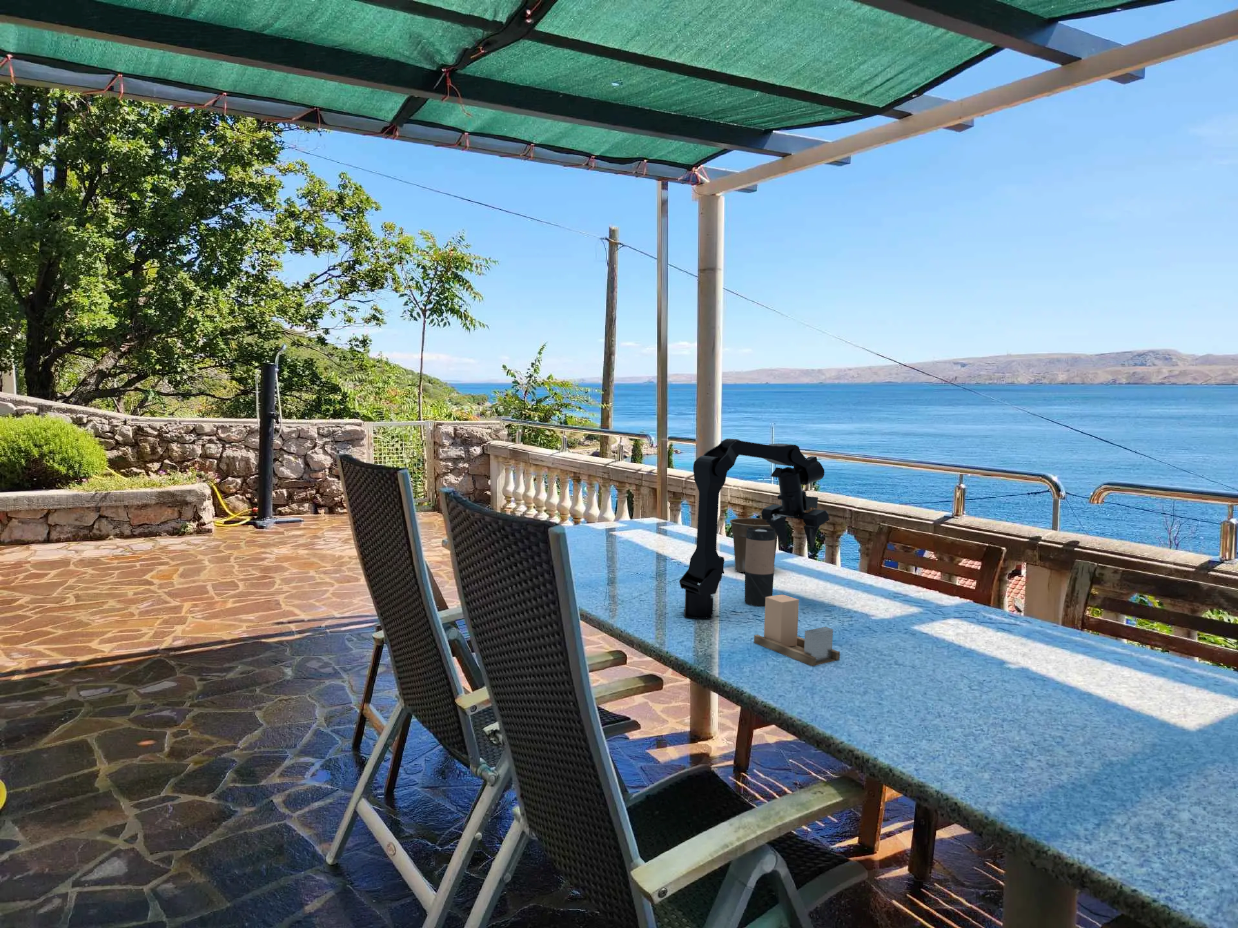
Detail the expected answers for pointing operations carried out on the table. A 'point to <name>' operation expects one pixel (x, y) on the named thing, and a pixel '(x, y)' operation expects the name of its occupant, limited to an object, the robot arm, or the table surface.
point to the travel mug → (759, 565)
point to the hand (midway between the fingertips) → (798, 545)
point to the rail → (794, 650)
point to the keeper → (781, 619)
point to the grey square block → (819, 643)
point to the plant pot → (739, 538)
